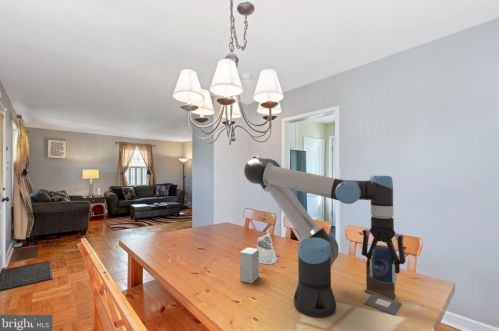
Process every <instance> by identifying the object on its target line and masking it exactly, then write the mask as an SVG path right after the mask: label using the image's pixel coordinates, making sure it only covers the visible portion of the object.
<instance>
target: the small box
mask: <svg viewBox="0 0 499 331" xmlns="http://www.w3.org/2000/svg"><path fill="white" fill-rule="evenodd" d="M259 257H260V249H259V248H254V247H245V248H244V249H243V250H240V252H239V281H240V282H244V283H248V284H254V282H255V281H257V279H258V278H259V277H260V268H259V266H260V258H259Z"/></svg>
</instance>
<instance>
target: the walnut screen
mask: <svg viewBox="0 0 499 331" xmlns="http://www.w3.org/2000/svg"><path fill="white" fill-rule="evenodd" d="M365 262H366V263H365V265H366V266H365V267H366V268H365V272H366V276H365V277H366V278H365V279H366V280H365V281H366V283H365V284H366V289H365V290H364V293H365V294H369V295H370V296H371V295H372V294H376V295H379V296H382V297H385V298H389V299H392V300H395V299H396V297H397V294H396V292H395V291H396V290H395V288H396V286H395V285H396V282H395V283H393V281H392V282H391V283H382V282H379V281H377V280H375V278H374V276H372V277H371V276H370V267H369V266H367V261H365Z"/></svg>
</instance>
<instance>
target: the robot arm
mask: <svg viewBox="0 0 499 331" xmlns="http://www.w3.org/2000/svg"><path fill="white" fill-rule="evenodd" d="M243 168H244V170H243V171H244V172H243V173H244V176H245V178H246V180H247V181H249V182H250V183H252V184H253V185H255V184H256V185H260V186H261V188H262V189H263V191H264V192H267V193H269V194H270V195H271V197H272V198H273V199H274V201H275V202H276V204H277V205H278V207H279V208H280V210H281V211H282V212H283V214H284V215H285V216H286V218H287V219H288V221H289V223H291V225H292V227H293V228H294V230H295V231H296V232H297V234H298V235H299V237H300V242H299V244H298V249H297V255H298V257H297V264H298V265H297V266H298V267H297V269H298V281H297V286H296V289H295V292H294V295H293V306H294V308H295V309H296V310H297V311H298V312H299V313H301V314H303V315H306V316H309V317H313V318H327V317H331V316H334V315H335V313H336V312H337V300H336V298H335V295H334V292H333V289H332V266H333V264H334V263H335V261H336V259H337V258H338V255H339V250H340V249H339V248H340V247H339V244H338V241H337V239H336V238H335V237H334V236H332V235H331V234H330V233H328V232H327V230H325V229H324V227H323V226H320V225H318V224H316V222H315V221H314V219H313V218H312V217H311V215H310V214H309V212H308V211H307V210H306V209H305V207H304V206H303V204H302V203H301V202H300V200H299V198H297V196H296V195H295V194H294V192H293V191H292V190H294V191H299V192H302V193H307V194H310V195H314V196H319V197H323V198H328V199H332V200H335V201H339V202H340V203H343V204H346V205H351V204H354V203H356V202H358V201H361V200H362V201H370V215H371V217H370V228H369V229H363V230H362V231H361V232H362V235H363V238H362V248H361V255H362V256H364V257H366V262H367V266H369V267H370V276H371V277H372V276H373V263H372V251H373V249H374V247H375V246H376V245H378V242H382V243H384V244H385V243H386V246H388V248H389V250H390V253H391V255H392V258H393V262H394V263H393V264H392V281H393V283H395V284H396V282H397V281H398V278H397V276H398V275H397V274H400V272H401V270H400V267H401V266H400V265H404V264H405V263H406V261H407V260H406V255H405V253H406V252H405V248H404V238H405V236H404V235H403V234H398V233H396V231H395V228H394V226H395V225H394V224H395V223H394V220H395V219H394V218H393V217H394V185H393V182H394V181H393V178H392V177H391V176H390V175H371V176H370V178H369V180H357V179H356V180H351V179H340V178H335V177H329V176H325V175H320V174H314V173H311V172H305V171H300V170H295V169H290V168H285V167H281V165H280V163H279V162H277V161H276V160H274V159H272V158H262V157H253V158H251V159H249V160H248V161H247V162H246V163H245V166H244V167H243ZM370 234H371V236H372V237H373V238H372V241H371V245H370V247H369V240H370V239H369V238H370V237H369V236H370ZM394 237H395V240H396V242H397V243H396V244H397V250H398V253H397V251H396V248H395V245H394V242H393V240H392V239H393V238H394ZM368 247H369V249H368Z"/></svg>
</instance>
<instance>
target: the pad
mask: <svg viewBox="0 0 499 331" xmlns="http://www.w3.org/2000/svg"><path fill="white" fill-rule="evenodd" d="M363 305H365V306H367V307H370V308H372V309H375V310H378V311H380V312H384V313H386V314H389V315H392V316H396V314H397V312H398V311H399V309H400V308H401V306H402V305H403V303H402V302H401V301H397V300H395V299H394V300H392V299H389V298H385V297H382V296H379V295H376V294H372V295H371V294H370V296H369V297H368V298H367V300H366V301H365V302H364V304H363Z"/></svg>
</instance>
